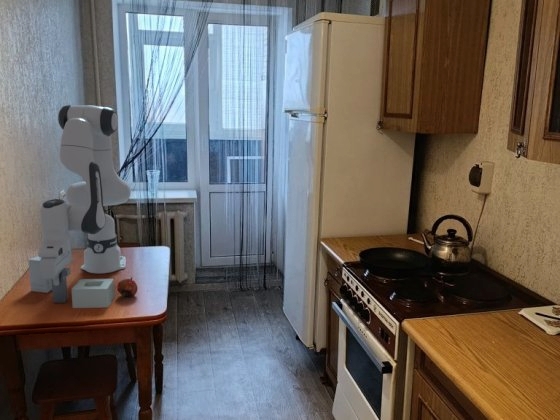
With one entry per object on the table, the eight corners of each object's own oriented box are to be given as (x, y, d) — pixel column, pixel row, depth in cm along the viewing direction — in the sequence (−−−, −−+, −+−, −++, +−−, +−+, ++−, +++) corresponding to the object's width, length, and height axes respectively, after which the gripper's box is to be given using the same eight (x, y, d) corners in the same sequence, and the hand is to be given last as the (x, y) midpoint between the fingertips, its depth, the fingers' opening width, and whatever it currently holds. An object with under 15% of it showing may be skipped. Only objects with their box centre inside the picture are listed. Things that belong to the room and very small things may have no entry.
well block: (81, 297, 174) (80, 279, 173) (114, 296, 176) (113, 278, 174) (72, 308, 165) (71, 289, 163) (108, 307, 166) (107, 288, 164)
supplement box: (47, 293, 177) (44, 261, 174) (30, 291, 178) (27, 259, 176) (60, 286, 184) (57, 255, 181) (43, 284, 185) (41, 253, 183)
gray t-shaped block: (52, 299, 171) (49, 268, 168) (72, 299, 172) (69, 268, 169) (49, 302, 168) (46, 271, 165) (69, 302, 169) (67, 270, 166)
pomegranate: (133, 306, 173) (146, 283, 179) (122, 295, 168) (136, 272, 174) (118, 304, 176) (131, 282, 182) (107, 293, 171) (121, 271, 177)
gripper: (57, 237, 175) (60, 272, 178) (35, 254, 155) (39, 293, 158) (75, 237, 176) (77, 272, 179) (55, 254, 156) (58, 293, 159)
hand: (59, 282), depth 168 cm, fingers closed on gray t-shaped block, 3 cm apart
